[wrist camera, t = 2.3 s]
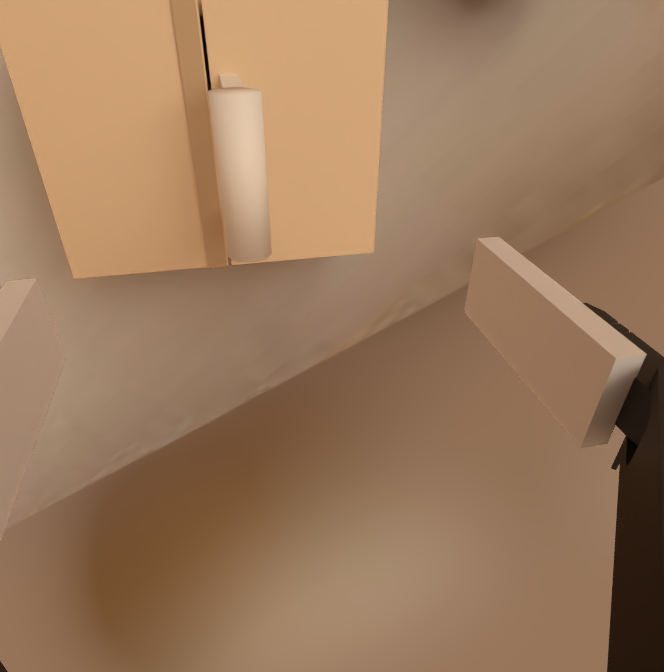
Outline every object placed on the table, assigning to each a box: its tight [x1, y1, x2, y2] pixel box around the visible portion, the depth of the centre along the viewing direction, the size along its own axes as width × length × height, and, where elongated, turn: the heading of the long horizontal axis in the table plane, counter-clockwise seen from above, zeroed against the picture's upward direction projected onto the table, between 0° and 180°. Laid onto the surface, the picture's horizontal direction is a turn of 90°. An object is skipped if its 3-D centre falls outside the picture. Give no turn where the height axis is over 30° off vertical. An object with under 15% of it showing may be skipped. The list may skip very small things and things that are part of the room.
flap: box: [201, 0, 389, 265], centre depth 28 cm, size 15×10×8 cm
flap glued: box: [0, 0, 229, 279], centre depth 29 cm, size 15×10×1 cm, turn 0°
